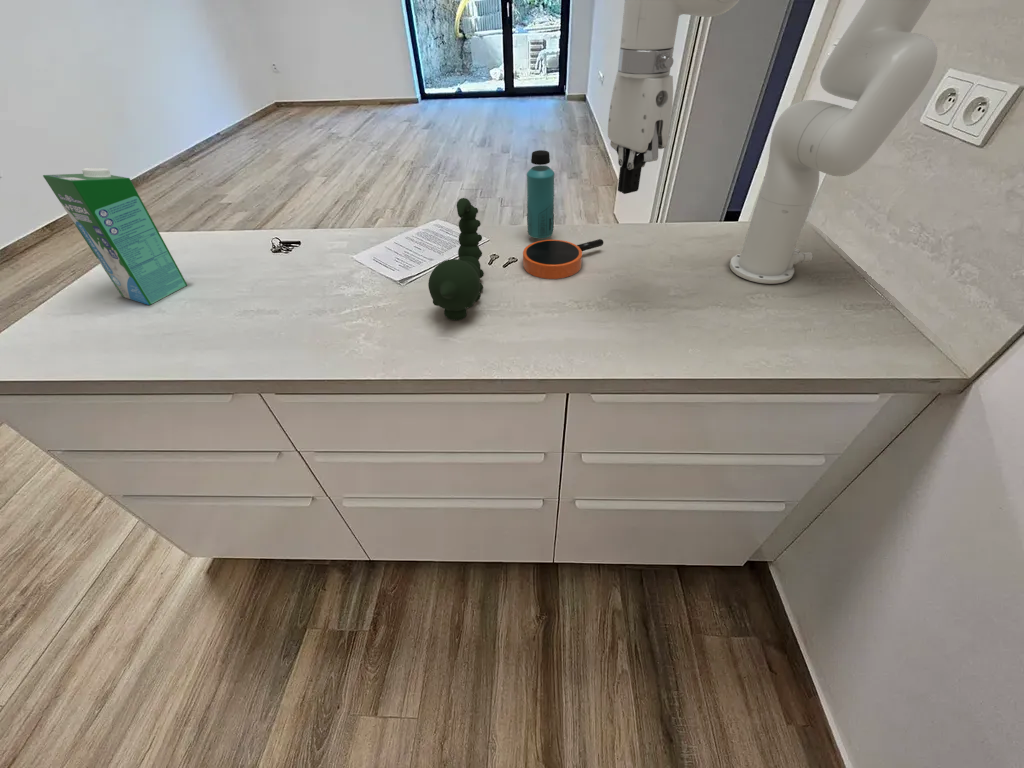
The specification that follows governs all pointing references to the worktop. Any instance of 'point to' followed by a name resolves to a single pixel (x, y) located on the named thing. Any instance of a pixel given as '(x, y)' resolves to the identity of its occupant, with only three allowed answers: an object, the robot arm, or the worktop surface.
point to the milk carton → (119, 233)
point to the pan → (555, 258)
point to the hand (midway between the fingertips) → (627, 190)
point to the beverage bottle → (540, 196)
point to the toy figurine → (460, 268)
